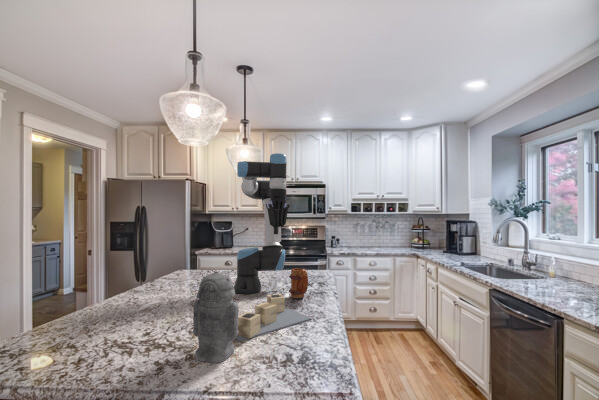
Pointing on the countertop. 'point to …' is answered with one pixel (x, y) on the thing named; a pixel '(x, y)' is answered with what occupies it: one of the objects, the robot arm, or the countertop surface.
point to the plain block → (266, 312)
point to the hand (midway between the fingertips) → (277, 241)
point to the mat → (279, 323)
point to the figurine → (215, 318)
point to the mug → (298, 283)
